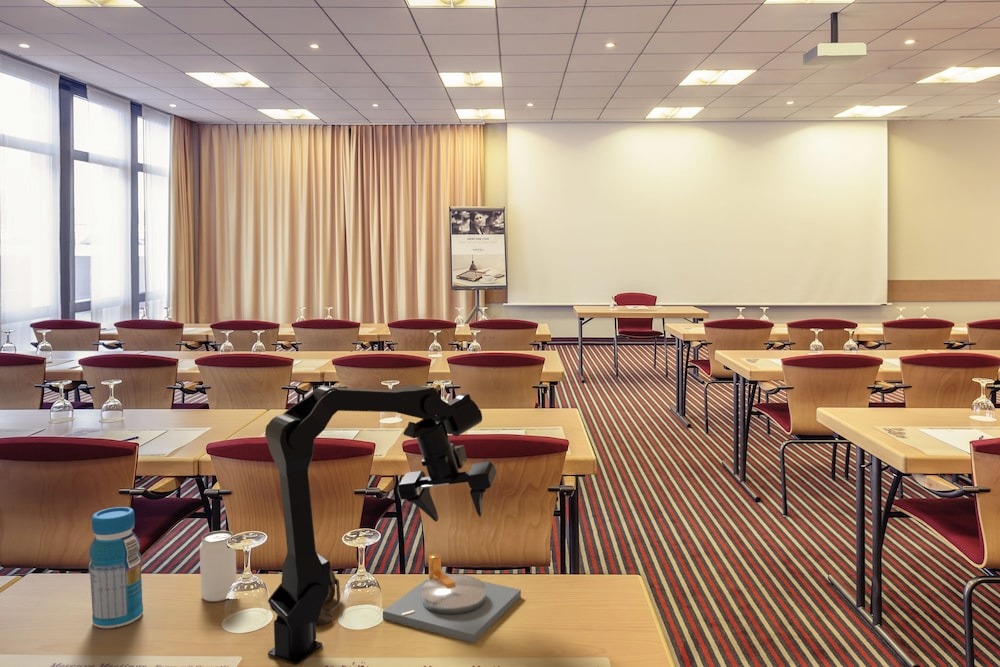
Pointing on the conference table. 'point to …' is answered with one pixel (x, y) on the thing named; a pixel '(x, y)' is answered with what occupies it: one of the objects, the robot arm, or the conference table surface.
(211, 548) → the can
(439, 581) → the dial
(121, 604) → the beverage bottle
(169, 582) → the conference table surface
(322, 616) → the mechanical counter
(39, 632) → the conference table surface
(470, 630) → the dial plate
